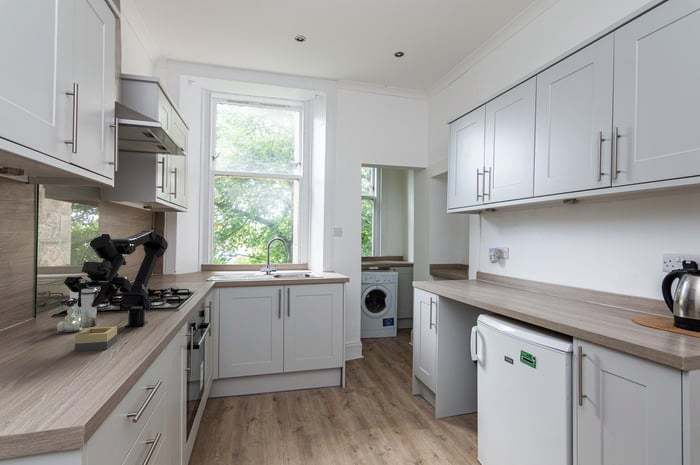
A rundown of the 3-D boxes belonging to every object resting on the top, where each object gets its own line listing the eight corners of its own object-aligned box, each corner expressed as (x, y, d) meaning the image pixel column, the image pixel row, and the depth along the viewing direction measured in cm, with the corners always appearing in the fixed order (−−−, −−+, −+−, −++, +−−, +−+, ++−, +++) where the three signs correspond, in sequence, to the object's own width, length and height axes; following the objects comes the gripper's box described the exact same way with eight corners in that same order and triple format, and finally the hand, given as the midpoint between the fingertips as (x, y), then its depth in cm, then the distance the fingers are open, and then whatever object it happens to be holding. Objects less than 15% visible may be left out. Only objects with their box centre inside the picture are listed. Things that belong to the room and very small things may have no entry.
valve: (62, 330, 124) (62, 298, 125) (84, 328, 127) (84, 297, 127) (54, 335, 118) (55, 301, 118) (77, 333, 121) (78, 300, 121)
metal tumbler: (81, 325, 107) (82, 288, 107) (97, 323, 109) (98, 287, 109) (79, 328, 103) (79, 290, 103) (95, 327, 106) (96, 289, 106)
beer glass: (65, 323, 133) (66, 286, 133) (86, 320, 139) (86, 284, 139) (74, 326, 130) (75, 287, 130) (94, 322, 136) (95, 285, 136)
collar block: (87, 343, 111) (87, 328, 111) (116, 341, 113) (117, 326, 113) (74, 351, 102) (75, 335, 103) (106, 349, 105) (107, 333, 105)
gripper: (68, 251, 110) (39, 291, 99) (127, 252, 111) (105, 292, 100) (85, 272, 117) (60, 311, 106) (140, 273, 119) (121, 311, 108)
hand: (85, 306), depth 105 cm, fingers closed on metal tumbler, 4 cm apart
